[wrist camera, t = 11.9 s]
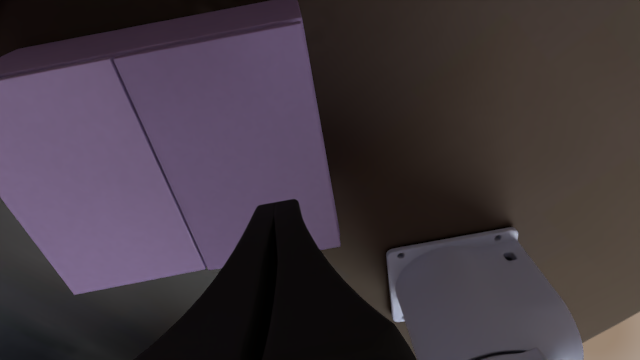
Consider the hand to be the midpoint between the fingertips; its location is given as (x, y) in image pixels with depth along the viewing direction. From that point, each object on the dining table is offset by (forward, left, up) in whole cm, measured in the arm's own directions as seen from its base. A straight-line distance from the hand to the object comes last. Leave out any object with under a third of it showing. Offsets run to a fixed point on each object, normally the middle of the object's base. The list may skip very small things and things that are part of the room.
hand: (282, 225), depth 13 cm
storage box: (+5, 0, -10) cm, 12 cm away
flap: (+8, 0, -5) cm, 10 cm away
